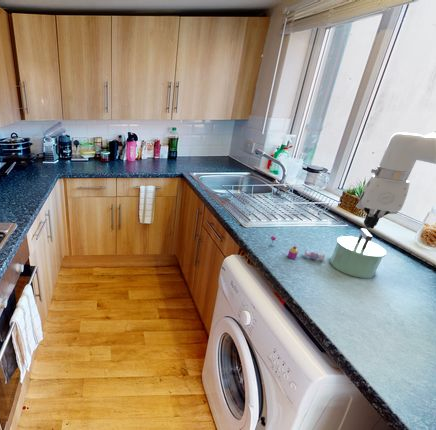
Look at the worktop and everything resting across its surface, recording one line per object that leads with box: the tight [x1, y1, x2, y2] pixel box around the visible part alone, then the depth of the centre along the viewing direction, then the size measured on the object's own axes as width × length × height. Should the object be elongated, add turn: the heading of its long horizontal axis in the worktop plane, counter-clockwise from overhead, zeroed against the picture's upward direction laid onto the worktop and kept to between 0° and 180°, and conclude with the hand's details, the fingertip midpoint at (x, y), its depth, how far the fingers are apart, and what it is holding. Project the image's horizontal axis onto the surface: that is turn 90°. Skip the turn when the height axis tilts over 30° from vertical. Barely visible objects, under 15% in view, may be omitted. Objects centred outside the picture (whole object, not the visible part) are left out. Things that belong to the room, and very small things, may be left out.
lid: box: [336, 228, 387, 258], centre depth 99 cm, size 14×14×6 cm
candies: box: [270, 235, 325, 262], centre depth 109 cm, size 18×8×6 cm, turn 62°
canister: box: [329, 243, 383, 279], centre depth 102 cm, size 13×13×8 cm
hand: (368, 226), depth 97 cm, fingers closed
